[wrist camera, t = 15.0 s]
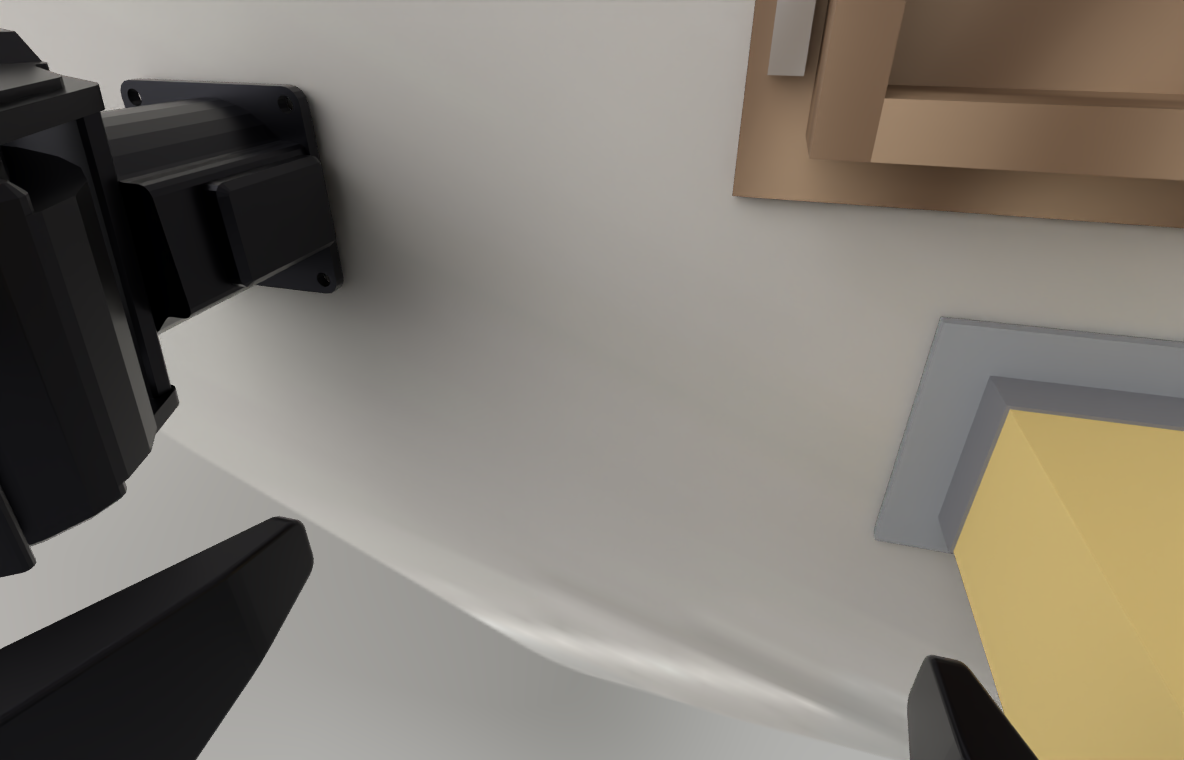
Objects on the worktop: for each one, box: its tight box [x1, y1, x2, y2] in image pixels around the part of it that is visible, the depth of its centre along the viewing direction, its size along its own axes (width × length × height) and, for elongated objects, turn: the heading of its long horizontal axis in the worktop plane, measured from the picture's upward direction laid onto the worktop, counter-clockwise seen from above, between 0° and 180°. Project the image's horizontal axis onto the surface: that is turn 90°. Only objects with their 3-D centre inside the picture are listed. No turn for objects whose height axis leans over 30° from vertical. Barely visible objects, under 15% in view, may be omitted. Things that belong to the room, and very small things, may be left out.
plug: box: [938, 376, 1184, 760], centre depth 13 cm, size 5×5×12 cm
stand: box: [874, 317, 1184, 554], centre depth 19 cm, size 8×8×1 cm
